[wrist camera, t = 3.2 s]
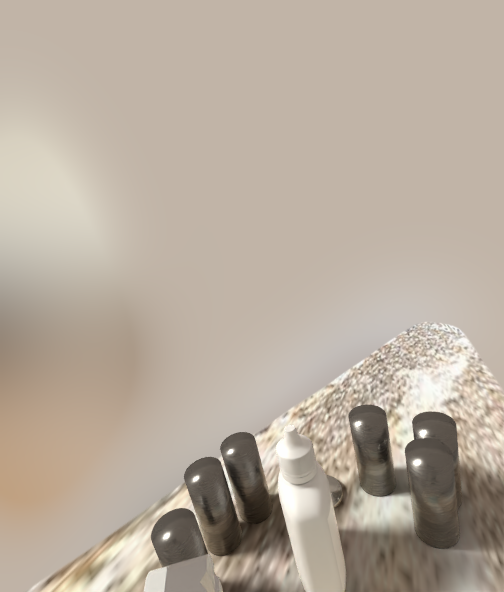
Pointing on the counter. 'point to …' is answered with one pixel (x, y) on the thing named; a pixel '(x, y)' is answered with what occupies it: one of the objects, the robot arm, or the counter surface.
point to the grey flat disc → (335, 490)
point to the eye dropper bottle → (309, 515)
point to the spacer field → (372, 472)
